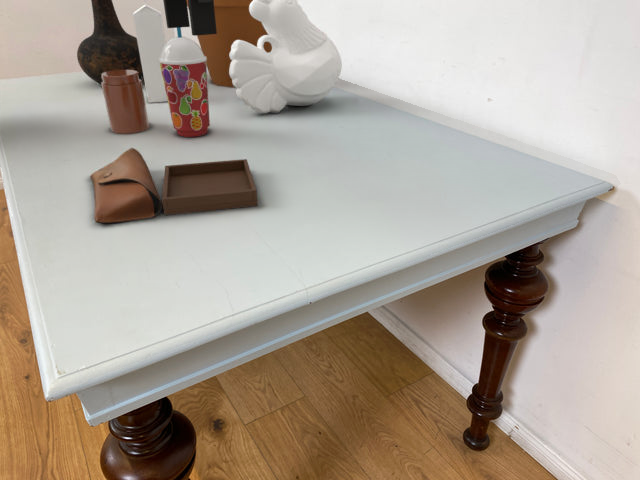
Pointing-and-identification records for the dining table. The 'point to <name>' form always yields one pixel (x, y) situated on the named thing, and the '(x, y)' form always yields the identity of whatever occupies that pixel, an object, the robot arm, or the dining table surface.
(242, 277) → the dining table surface
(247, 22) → the flowerpot
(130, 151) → the sunglasses case
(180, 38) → the smoothie
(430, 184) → the dining table surface
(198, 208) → the tray
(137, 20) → the milk
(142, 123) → the jar
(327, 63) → the decorative rooster
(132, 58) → the dark brown vase
